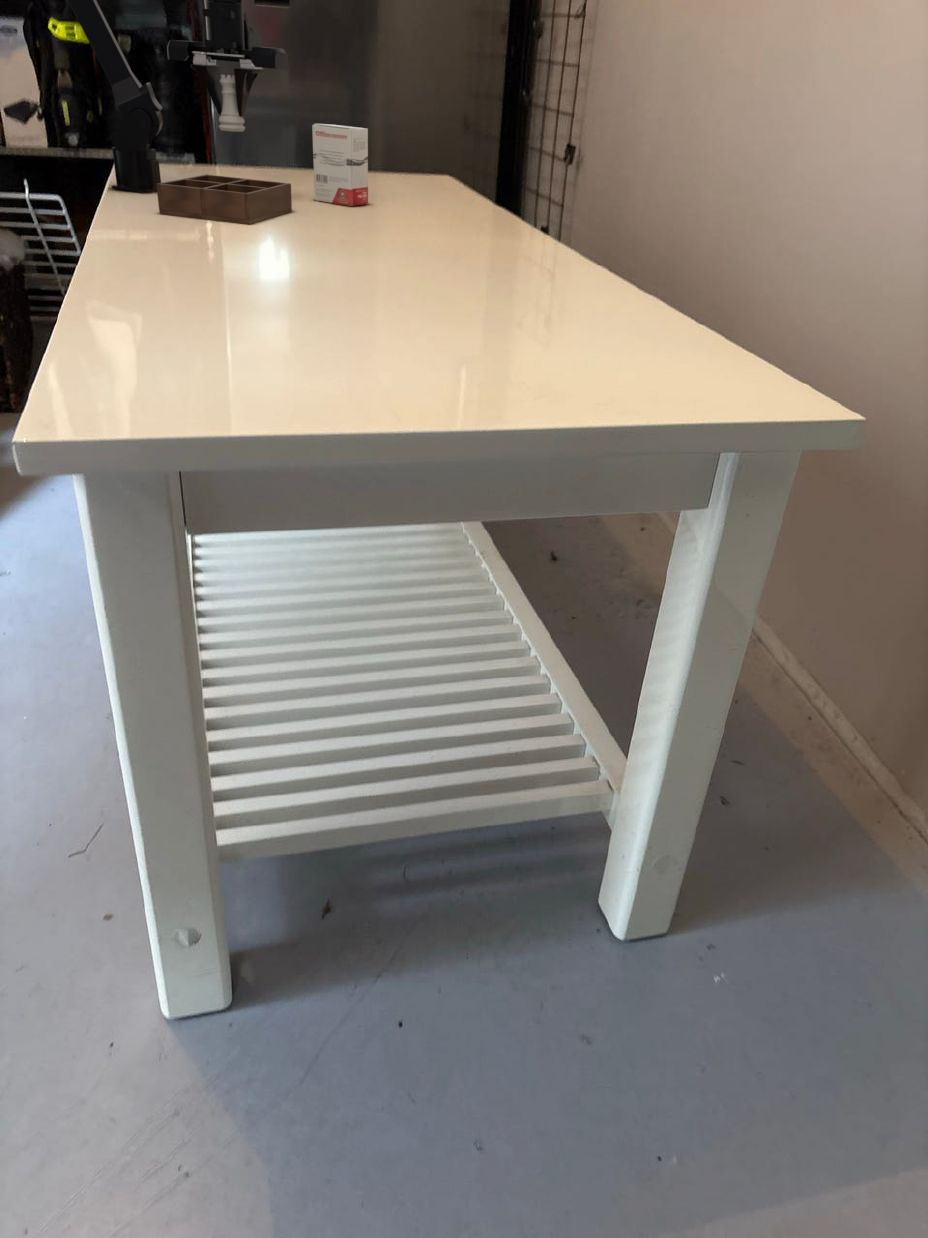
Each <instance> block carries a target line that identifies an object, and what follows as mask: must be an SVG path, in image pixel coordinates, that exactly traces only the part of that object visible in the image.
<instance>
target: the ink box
mask: <svg viewBox="0 0 928 1238" xmlns="http://www.w3.org/2000/svg"><path fill="white" fill-rule="evenodd" d="M311 129H312V131H311V132H312V154H313V155H312V160H313V189H314V194H313V195H314V201H315V202H316V201H317V202H323V203H329V204H335V205H341V206H347V207H353V206H361V205H362V206H363V205H368V204H369V128H367V127H365V128H364V127H358V126H349V125H342V124H341V125H339V124H329V123H313V124H312V125H311Z"/></svg>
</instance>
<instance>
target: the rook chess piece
mask: <svg viewBox="0 0 928 1238" xmlns="http://www.w3.org/2000/svg"><path fill="white" fill-rule="evenodd" d="M219 82H220V84H221V87H222V92H221V93H222V96H223V108H222V112H221V115H219V117H218V122H219V125H218V128H219V130H220V131H223V132H232V133H233V132H234V133H235V132H237V133H238V132H239V133H240V132H241V133H243V132H244V131H245V130H246V127H245V126H244V124H245V119H244V116H243V117H240V116H239V112H238V107H237V97H236V86H235V75H234V74H233V75H231V74H227V75H226V74H221V79H220V81H219Z"/></svg>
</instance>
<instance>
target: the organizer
mask: <svg viewBox="0 0 928 1238" xmlns="http://www.w3.org/2000/svg"><path fill="white" fill-rule="evenodd" d="M156 186H157V190H156V195H157V204H158V213H159V215H166V216H167V215H169V216H176V217H183V218H194V219H200V220H201V219H202V220H208V221H218V222H219V221H220V222H226V223H227V222H228V223H236V224H244V225H252V224H255V223H258V222H261V221H265V220H269V219H272V218H275V217H279V216H282V215H285V214H288V213H291V212H293V208H292V207H293V203H292V202H293V201H292V183H290V182H280V181H270V180H261V179H252V178H243V177H235V176H224V175H213V174H201V175H196V176H190V177H185V178H179V179H174V180H169V181H164V182H161V183H158V184H156Z"/></svg>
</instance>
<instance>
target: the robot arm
mask: <svg viewBox="0 0 928 1238" xmlns="http://www.w3.org/2000/svg"><path fill="white" fill-rule="evenodd" d="M67 2H68V4H69V6H70V8H71V10H72V12H73V13H74V16H75V17H76V20H77V21H78V23H79V25H80V27H81V29H82V30H83V33H84V35H85V37H86V38H87V41H88V43H89V45H90V46H91V49H92V51H93V52H94V54H95V56H96V58H97V60H98V62H99V64H100V66H101V68H102V69H103V71H104V73H105V76H106V77H107V79H108V81H109V83H110V87H111V90H112V93H113V97H114V100H115V104H116V107H117V110H118V113H119V116H120V119H121V121H122V122H121V123H120V125H119V126H118V127H117V128H116V129H115V131H114V132H113V133H112V134H111V135H110V140H111V142H112V144H113V147H111V150H112V151H111V152H112V156H113V157H112V159H113V165H114V174H115V181H116V184H112V185H111V189H112V190H122V191H132V192H140V193H148V192H154V191H157V186H156V184H158V183H162V179H161V168H160V161H159V159H157V151H156V149H155V148H154V149H153V148H151V146H152V141H153V139H154V138H155V137H156V136H157V135H158V134H159V133H160V132H161V130H162V128H163V124H164V123H163V122H164V119H163V115H162V112H161V110H162V109H163V108H164V107H163V106H162V104H160V102H159V101H158V100H157V98H156V95H155V92H154V89H153V87H152V84H151V82H146V83H144V84H142V83H141V82H140V81H139V80H138V78H137V76H136V75H135V74H134V73H133V71H132V69H131V67H130V65H129V63H128V60H127V58H126V57H125V55H124V53H123V50H122V49H121V47H120V45H119V42H118V41H117V39H116V37H115V35H114V33H113V31H112V29H111V27H110V25H109V23H108V21H107V19H106V17H105V16H104V13H103V11H102V9H101V7H100V5H99V3H98V1H97V0H67ZM253 5H254V6H259V7H269V8H271V7H272V8H281V9H290V8H291V7H290V6H291V0H253ZM201 11H202V17H205V18H206V25H207V39H204V43H203V41H194V40H193V41H192V40H191V41H190V40H180V39H179V40H177V39H169V41H168V44H167V46H166V54H167V60H169V61H178V62H179V61H180V62H187V61H192V63H193V64H191V63H190V68H191V69H195V70H196V72H197V73H198V75H199V77H200V79H201V81H202V82H203V84H204V86H205V88H206V90H207V92H208V94H209V97H210V99H211V101H212V103H213V106H214V107H215V110H216V112H217V114H218V115H219V116H221V112H222V108H223V94H222V93H221V92H222V89H223V88H222V85H221V84H220V82H219V81H220V79H221V75H222V72H223V67H224V66H223V65H217V61H221V62H222V61H225V62H236V63H239V67H234V68H233V73H234V74H233V75H235V86H236V97H237V107H238V112H239V116H240V117H243V118H244V116H245V114H246V110H247V106H248V102H249V98H250V94H251V90H252V88H253V86H254V83H255V80H256V79H257V77H259V75H260V74H264V73H265V71H266V69H274V70H275V69H277V70H279V69H280V70H281V69H282V70H283V69H284V70H286V69H289V61H288V60H289V59H288V55H287V53H286V50H285V49H284V48H277V47H266V46H261V36H260V35H259V33H257V32H256V31H255V30H254V28H252V27H251V26H250V24H249V19H248V18H249V17H248V13H247V12H244V1H243V0H205V8H202V10H201ZM221 49H223V52H218V51H221Z"/></svg>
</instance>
